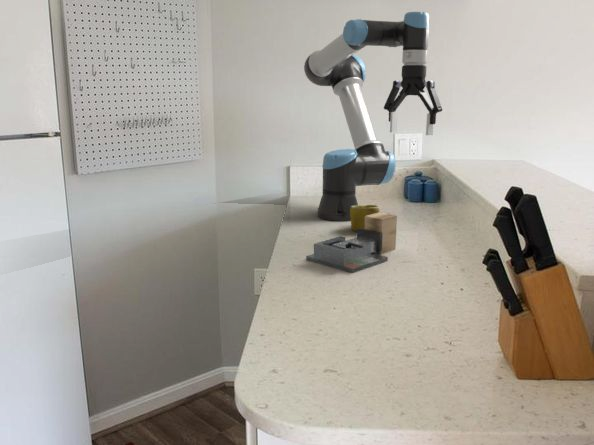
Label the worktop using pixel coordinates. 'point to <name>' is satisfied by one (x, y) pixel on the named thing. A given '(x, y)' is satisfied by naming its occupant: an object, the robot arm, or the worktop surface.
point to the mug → (361, 215)
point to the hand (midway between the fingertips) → (410, 133)
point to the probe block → (383, 229)
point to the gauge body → (345, 256)
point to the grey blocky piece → (363, 240)
